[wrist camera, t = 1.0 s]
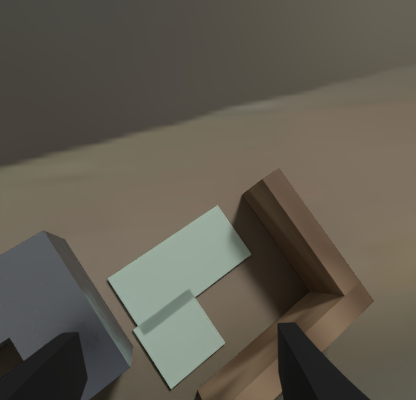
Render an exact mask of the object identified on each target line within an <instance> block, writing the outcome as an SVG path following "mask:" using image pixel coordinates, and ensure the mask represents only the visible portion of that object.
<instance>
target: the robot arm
mask: <svg viewBox="0 0 416 400" xmlns="http://www.w3.org/2000/svg"><path fill="white" fill-rule="evenodd" d="M277 332H278V373H279V378H280V383H281V388H282V393H283V398H284V400H370V399H369V398H368V397H367V396H366V395H364V394H363V393H362V392H361V391H360V390H359V389H358V388H357V387H356V386H355V385H354V384H352V383H351V382H350V381H349V380H348V379H347V378H346V377H345V376H344V375H343V374H342V373H341V372H340V371H339V370H338V369H337V368H336V367H335V366H334V365H333V364H332V363H331V362H330V361H329V360H328V359H327V358H326V357H325V355H324V354H323V353H322V352H321V351H320V350H319V349H318V348H317V347H316V346H315V344H314V343H313V342H312V341H311V340H310V339H309V338H308V336H307V335H306V334H305V333H304V332H303V331H302V329H301V328H300V327H299V326H298V325H297V324H296V323H295V322H286V323H277ZM87 380H88V376H87V371H86V366H85V361H84V356H83V352H82V347H81V342H80V337H79V332H64V333H61V334H59V335H58V336H56V337H55V338H54V339H52V340H51V341H49V342H48V343H47V344H45V345H44V346H43V347H41V348H40V349H39V350H37V351H36V352H35V353H34V354H32V355H31V356H30V357H28V358H27V359H26V360H24V361H23V362H22V363H20V364H19V365H18V366H16V367H15V368H14V369H12V370H11V371H10V372H8V373H7V374H6V375H4V376H3V377H2V378H0V400H81V397H82V395H83V392H84V389H85V386H86V383H87Z"/></svg>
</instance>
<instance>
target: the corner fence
mask: <svg viewBox="0 0 416 400" xmlns="http://www.w3.org/2000/svg"><path fill="white" fill-rule="evenodd" d="M242 195H243V196H244V198H245V199H246V201H247V202H248V204H249V205H250V206H251V208H252V209H253V211H254V212H255V214H256V215H257V217H258V218H259V219H260V221H261V222H262V224H263V225H264V227H265V228H266V229H267V231H268V232H269V234H270V235H271V237H272V238H273V239H274V241H275V242H276V244H277V245H278V247H279V248H280V249H281V251H282V252H283V254H284V255H285V257H286V258H287V259H288V261H289V262H290V264H291V265H292V267H293V268H294V270H295V271H296V272H297V274H298V275H299V277H300V278H301V280H302V281H303V282H304V284H305V285H306V287H307V288H308V290H309V291H310V292H309V293H307V294H306V295H305V296H304V297H303V298H302V299H301V300H299V301H298V302H297V303H296V304H295V305H294V306H293V307H291V308H290V309H289V310H288V311H287V312H286V313H285V314H283V315H282V316H281V317H280V318H279V319H278V320H277V321H276V322H274V323H273V324H272V325H271V326H270V327H269V328H268V329H266V330H265V331H264V332H263V333H262V334H261V335H260V336H258V337H257V338H256V339H255V340H254V341H253V342H252V343H250V344H249V345H248V346H247V347H246V348H245V349H244V350H243V351H241V352H240V353H239V354H238V355H237V356H236V357H235V358H233V359H232V360H231V361H230V362H229V363H228V364H227V365H225V366H224V367H223V368H222V369H221V370H220V371H219V372H217V373H216V374H215V375H214V376H213V377H212V378H211V379H209V380H208V381H207V382H206V383H205V384H204V385H203V386H202V387H200V388H199V389H198V392H199V394H200V397H201V399H202V400H274V399H275V398H276V397H277V396H278V395H279V394H280V393H281V392H282V388H281V383H280V378H279V373H278V332H277V323H286V322H295V323H296V324H297V325H298V326H299V327H300V328H301V329H302V331H303V332H304V333H305V334H306V335H307V336H308V338H309V339H310V340H311V341H312V342H313V343H314V344H315V346H316V347H317V348H318V349H319V350H320V351H321V352H323V351H324V350H325V349H326V348H327V347H328V346H329V345H330V344H331V343H332V342H333V341H334V340H335V339H336V338H337V337H338V336H339V335H340V334H341V333H342V332H343V331H344V330H345V329H346V328H347V327H348V326H349V325H350V324H351V323H352V322H353V321H354V320H355V319H356V318H357V317H358V316H359V315H360V314H361V313H362V312H364V311H365V310H366V309H367V308H368V307H369V306H370V305H371V304H372V303H373V302H374V300H373V299H372V297H371V296H370V295H369V293H368V292H367V290H366V289H365V288H364V286H363V285H362V283H361V282H360V281H359V279H358V278H357V276H356V275H355V274H354V272H353V271H352V269H351V268H350V267H349V265H348V264H347V262H346V261H345V260H344V258H343V257H342V255H341V254H340V253H339V251H338V250H337V248H336V247H335V246H334V244H333V243H332V241H331V240H330V239H329V237H328V236H327V234H326V233H325V232H324V230H323V229H322V227H321V226H320V225H319V223H318V222H317V220H316V219H315V218H314V216H313V215H312V213H311V212H310V211H309V209H308V208H307V206H306V205H305V204H304V202H303V201H302V199H301V198H300V197H299V195H298V194H297V192H296V191H295V190H294V188H293V187H292V185H291V184H290V183H289V181H288V180H287V178H286V177H285V176H284V174H283V173H282V171H281V170H280V169H279V168H278V169H277V170H275V171H274V172H272V173H271V174H269V175H268V176H266V177H265V178H263V179H262V180H260V181H259V182H258V183H257V184H255V185H254V186H253V187H251V188H250V189H249V190H247V191H246V192H245V193H244V194H242Z"/></svg>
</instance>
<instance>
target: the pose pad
mask: <svg viewBox="0 0 416 400" xmlns="http://www.w3.org/2000/svg"><path fill="white" fill-rule="evenodd" d="M250 255H251V253H250V251H249V250H248V249H247V247H246V246H245V244H244V243H243V241H242V240H241V238H240V237H239V235H238V234H237V233H236V231H235V230H234V228H233V227H232V225H231V224H230V222H229V221H228V219H227V218H226V217H225V215H224V214H223V212H222V211H221V209H220V208H219V206H218V205H217V206H216V207H214V208H213V209H211V210H210V211H208V212H207V213H205V214H204V215H202V216H201V217H199V218H198V219H196V220H195V221H193V222H192V223H190V224H189V225H187V226H186V227H184V228H183V229H181V230H180V231H178V232H177V233H175V234H174V235H172V236H171V237H169V238H168V239H166V240H165V241H163V242H162V243H160V244H159V245H157V246H156V247H154V248H153V249H151V250H150V251H148V252H147V253H145V254H144V255H142V256H141V257H139V258H138V259H136V260H135V261H133V262H132V263H130V264H129V265H127V266H126V267H124V268H123V269H121V270H120V271H118V272H117V273H115V274H114V275H112V276H111V277H109V278H108V280H109V282H110V283H111V285H112V287H113V288H114V290H115V291H116V293H117V294H118V296H119V297H120V299H121V301H122V302H123V304H124V305H125V307H126V308H127V310H128V311H129V313H130V315H131V316H132V318H133V319H134V321H135V322H136V324H137V325H138V326H137V327H136V328H135V329H133V331H134V332H135V334H136V335H137V337H138V338H139V340H140V342H141V343H142V345H143V346H144V348H145V349H146V351H147V352H148V354H149V356H150V357H151V359H152V360H153V362H154V363H155V365H156V366H157V368H158V370H159V371H160V373H161V374H162V376H163V377H164V379H165V381H166V382H167V384H168V385H169V387H170V388H171V389H172V388H173V387H174V386H175V385H177V384H178V383H179V382H180V381H181V380H182V379H184V378H185V377H186V376H187V375H188V374H190V373H191V372H192V371H193V370H194V369H195V368H197V367H198V366H199V365H200V364H201V363H202V362H204V361H205V360H206V359H207V358H208V357H210V356H211V355H212V354H213V353H214V352H215V351H217V350H218V349H219V348H220V347H221V346H223V345H224V344H225V342H224V340H223V339H222V337H221V336H220V334H219V333H218V331H217V330H216V328H215V327H214V325H213V324H212V322H211V321H210V319H209V318H208V316H207V315H206V313H205V312H204V310H203V309H202V307H201V306H200V304H199V303H198V301H197V300H196V298H195V297H196V296H197V295H199V294H200V293H201V292H203V291H204V290H205V289H207V288H208V287H209V286H211V285H212V284H213V283H214V282H216V281H217V280H218V279H220V278H221V277H222V276H224V275H225V274H226V273H228V272H229V271H230V270H231V269H233V268H234V267H235V266H237V265H238V264H239V263H241V262H242V261H243V260H245V259H246V258H247V257H249V256H250Z"/></svg>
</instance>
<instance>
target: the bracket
mask: <svg viewBox="0 0 416 400" xmlns="http://www.w3.org/2000/svg"><path fill="white" fill-rule="evenodd" d="M64 332H79V337H80V342H81V347H82V352H83V356H84V361H85V366H86V371H87V376H88V380H87V383H86V386H85V389H84V392H83V395H82V397H81V400H89V399H91V398H92V397H93V396H95V395H96V394H97V393H98V392H100V391H101V390H102V389H103V388H105V387H106V386H107V385H109V384H110V383H111V382H112V381H114V380H115V379H116V378H117V377H119V376H120V375H121V374H122V373H124V372H125V371H126V370H128V369H129V368H130V365H131V357H132V348H133V345H132V344H131V342H130V341H129V339H128V338H127V336H126V334H125V333H124V331H123V330H122V328H121V327H120V325H119V323H118V322H117V320H116V319H115V317H114V316H113V314H112V312H111V311H110V309H109V308H108V306H107V305H106V303H105V301H104V300H103V298H102V297H101V295H100V294H99V292H98V290H97V289H96V287H95V286H94V284H93V283H92V281H91V279H90V278H89V276H88V275H87V273H86V272H85V270H84V268H83V267H82V265H81V264H80V262H79V261H78V259H77V258H76V256H75V254H74V253H73V251H72V250H71V248H70V247H69V245H68V243H67V242H66V240H65V239H63V238H60V237H58V236H56V235H53V234H51V233H49V232H46V231H44V230H43V231H41V232H40V233H38V234H36V235H34V236H33V237H31V238H29V239H27V240H26V241H24V242H22V243H21V244H19V245H17V246H15V247H14V248H12V249H10V250H8V251H7V252H5V253H3V254H1V255H0V349H1V348H2V347H4V346H5V345H7V344H8V343H10V342H11V341H12V342H13V344H14V346H15V347H16V349H17V351H18V352H19V354H20V356H21V357H22V359H23V361H24V360H26V359H27V358H28V357H30V356H31V355H32V354H34V353H35V352H36V351H37V350H39V349H40V348H41V347H43V346H44V345H45V344H47V343H48V342H49V341H51V340H52V339H54V338H55V337H56V336H58V335H59V334H61V333H64Z"/></svg>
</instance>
